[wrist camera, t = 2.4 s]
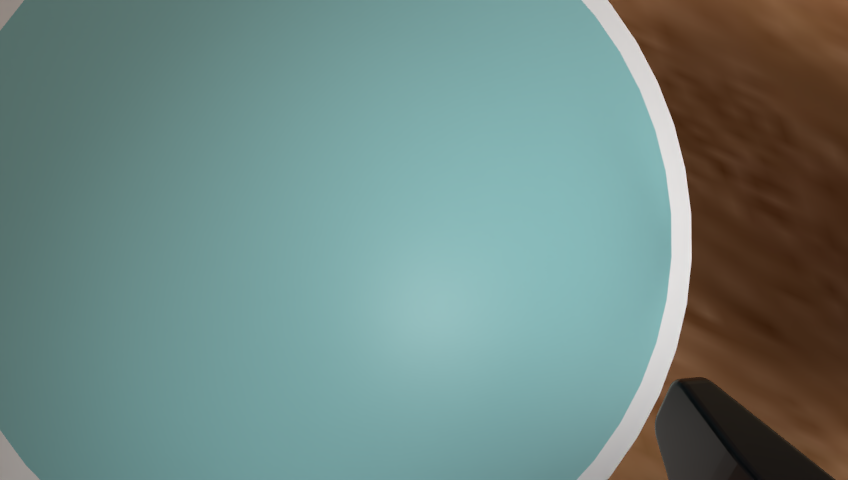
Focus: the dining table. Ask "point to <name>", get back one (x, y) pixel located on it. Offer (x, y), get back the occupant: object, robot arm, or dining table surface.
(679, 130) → the dining table surface
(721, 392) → the robot arm
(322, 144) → the teal canister
